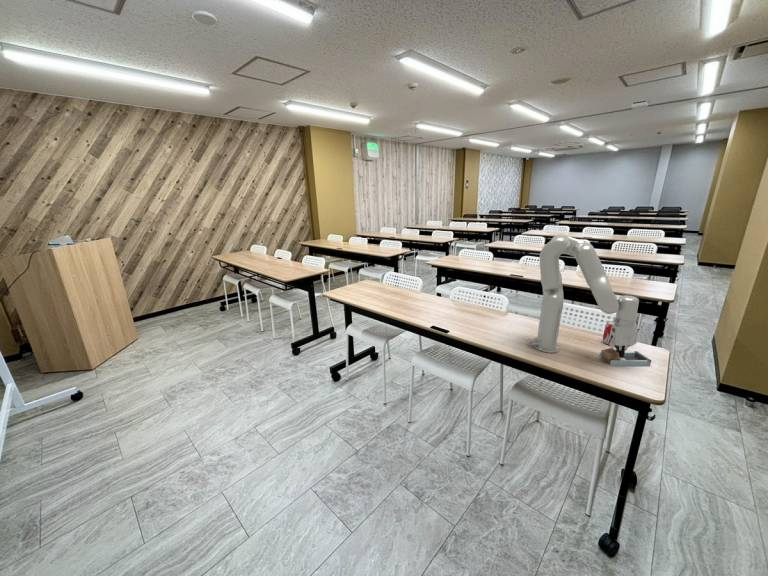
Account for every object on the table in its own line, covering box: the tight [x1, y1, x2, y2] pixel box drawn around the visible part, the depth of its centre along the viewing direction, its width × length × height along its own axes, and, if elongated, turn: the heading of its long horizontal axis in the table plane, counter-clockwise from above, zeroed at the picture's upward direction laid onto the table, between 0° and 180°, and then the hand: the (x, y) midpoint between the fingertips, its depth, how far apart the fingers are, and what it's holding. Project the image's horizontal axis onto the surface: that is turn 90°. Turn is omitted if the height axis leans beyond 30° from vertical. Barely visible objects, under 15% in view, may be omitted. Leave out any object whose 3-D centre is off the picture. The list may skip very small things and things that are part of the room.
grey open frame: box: [598, 350, 652, 367], centre depth 146 cm, size 18×9×3 cm, turn 88°
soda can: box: [602, 320, 614, 346], centre depth 163 cm, size 7×7×12 cm
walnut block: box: [600, 347, 621, 365], centre depth 146 cm, size 5×5×5 cm
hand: (619, 356), depth 145 cm, fingers closed
